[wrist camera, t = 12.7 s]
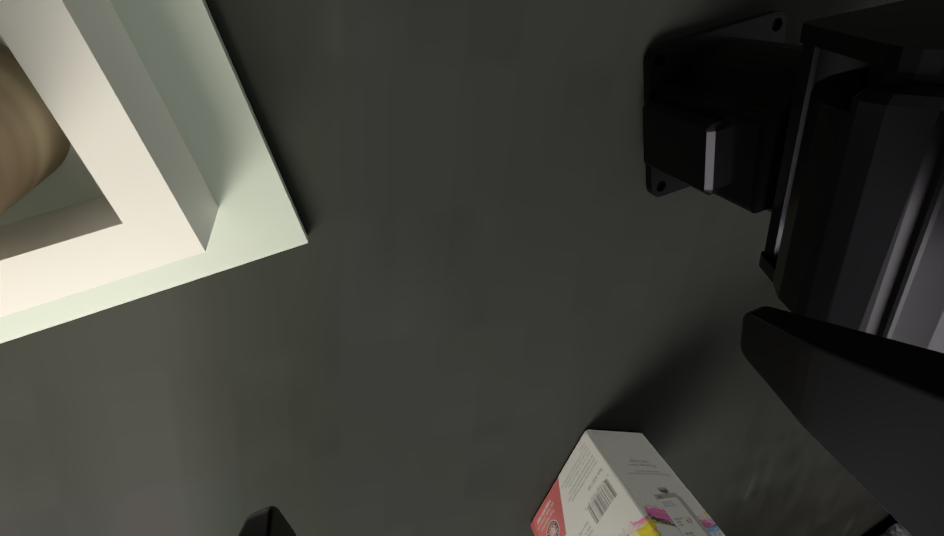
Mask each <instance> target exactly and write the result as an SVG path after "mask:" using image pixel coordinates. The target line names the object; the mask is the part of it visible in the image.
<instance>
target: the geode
mask: <svg viewBox="0 0 944 536" xmlns="http://www.w3.org/2000/svg"><path fill="white" fill-rule="evenodd" d="M879 536H911V535H910V534H909V533H908V532H907V531H906V530H905V529H904V528H903V527H902V526H901V525H900V524H899V523H896V524H894V525H892V526H890V527H889V528H888V529H887V531H886V532H884V533H882V534H880V535H879Z"/></svg>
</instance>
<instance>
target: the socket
mask: <svg viewBox="0 0 944 536" xmlns="http://www.w3.org/2000/svg"><path fill="white" fill-rule="evenodd" d="M0 43H1V44H3V45H5V46H7V47H9V49H10V50H11V52H12V53H13V55H14V56H15V58H16V60H17V61H18V63H19V64H20V66H21V67H22V69H23V70H24V72H25V73H26V75H27V76H28V78H29V80H30V81H31V83H32V84H33V86H34V87H35V89H36V90H37V92H38V93H39V95H40V96H41V98H42V100H43V101H44V103H45V104H46V106H47V107H48V109H49V110H50V112H51V113H52V115H53V117H54V118H55V120H56V121H57V123H58V124H59V126H60V127H61V129H62V130H63V132H64V133H65V135H66V137H67V138H68V140H69V141H70V143H71V146H70V150H69V152H68V154H67V156H66V158H65V160H64V161H63V163H62V164H61V165H60V166H59V167H58V168H57V169H56V170H55V171H54V172H53V173H52V174H51V175H49V176H48V177H47V178H46V179H44V180H43V181H42V182H41V183H39V184H38V185H37V186H36V187H34V188H33V189H32V190H31V191H29V192H28V193H27V194H26V195H25V196H23V197H22V198H21V199H20V200H18V201H17V202H16V203H15V204H13V205H12V206H11V207H10V208H8V209H7V210H6V211H5V212H3V213H2V214H1V215H0V343H3V342H6V341H9V340H12V339H16V338H19V337H22V336H25V335H28V334H31V333H34V332H37V331H40V330H43V329H46V328H49V327H52V326H55V325H58V324H61V323H64V322H68V321H71V320H74V319H77V318H80V317H83V316H86V315H89V314H92V313H95V312H98V311H101V310H104V309H107V308H110V307H113V306H116V305H120V304H123V303H126V302H129V301H132V300H135V299H138V298H141V297H144V296H147V295H150V294H153V293H156V292H159V291H162V290H165V289H168V288H171V287H175V286H178V285H181V284H184V283H187V282H190V281H193V280H196V279H199V278H202V277H205V276H208V275H211V274H214V273H217V272H220V271H223V270H227V269H230V268H233V267H236V266H239V265H242V264H245V263H248V262H251V261H254V260H257V259H260V258H263V257H266V256H269V255H272V254H275V253H279V252H282V251H285V250H288V249H291V248H294V247H297V246H300V245H303V244H306V243H308V236H307V233H306V231H305V229H304V226H303V224H302V222H301V220H300V217H299V215H298V213H297V210H296V208H295V206H294V204H293V201H292V199H291V197H290V194H289V192H288V190H287V187H286V185H285V183H284V181H283V178H282V176H281V174H280V171H279V169H278V167H277V165H276V162H275V160H274V158H273V155H272V153H271V151H270V148H269V146H268V144H267V142H266V139H265V137H264V135H263V132H262V130H261V128H260V125H259V123H258V121H257V119H256V116H255V114H254V112H253V109H252V107H251V105H250V103H249V100H248V98H247V96H246V93H245V91H244V89H243V86H242V84H241V82H240V80H239V77H238V75H237V73H236V70H235V68H234V66H233V64H232V61H231V59H230V57H229V54H228V52H227V50H226V47H225V45H224V43H223V41H222V38H221V36H220V34H219V31H218V29H217V27H216V24H215V22H214V20H213V18H212V15H211V13H210V11H209V8H208V6H207V4H206V2H205V0H0Z"/></svg>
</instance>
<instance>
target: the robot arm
mask: <svg viewBox="0 0 944 536" xmlns="http://www.w3.org/2000/svg"><path fill="white" fill-rule="evenodd" d="M774 21H775V24H774V26H773V28H772V24H773V22H774ZM786 29H787V15H786V13H784V12H783V11H769V12H766V13H763V14H759V15H756V16H753V17H749V18H746V19H743V20H739V21H736V22H733V23H729V24H726V25H722V26H719V27H716V28H712V29H709V30H706V31H702V32H699V33H696V34H692V35H689V36H686V37H682V38H679V39H676V40H672V41H669V42H666V43H662V44H659V45H655V46H653V47H651V48H650V49H649V50H648V51H647V52H646V54H645V56H644V62H643V65H644V107H643V138H644V162H645V163H646V187H647V191H648V192H649V193H651V194H652V195H654V196H657V197H659V196H663V195H666V194H669V193H672V192H675V191H678V190H681V189H683V188H686V187H689V186H691V187H693V188H695V189H697V190H699V191H701V192H703V193H705V194H707V195H711V194H716V195H718V196H720V197H722V198H724V199H726V200H728V201H730V202H732V203H734V204H736V205H738V206H740V207H742V208H744V209H746V210H748V211H750V212H752V213H758V212H761V211H764V210H767V211H769V212H772V214H771V219H770V225H769V230H768V235H767V241H766V246H765V251H763V252H762V253H761V257H760V262H759V266H760V268H761V269H762V270H763V271H764V272H765V274H766V275H767V276H768V277H769V279H770V280H771V281H772V282H773V284H774V287H775V290H776V293H777V296H778V298H779V299H780V300H781V301H782V302H783V303H784V304H785V305H786V307H787V308H788V309H789V310H790V311H791V312H792V313H791V312H787V311H783V310H780V309H776V308H772V307H766V306H765V307H760V308H758V309H755V310H753V311H750V312H748V313H746V314H745V316H744V317H743V324H742V334H741V350H742V352H743V354H744V356H745V358H746V359H747V360H748V361H749V363H750V364H751V365H752V366H753V367H754V369H755V370H756V371H757V372H758V373H759V375H760V376H761V377H762V378H763V380H764V381H765V382H766V383H767V384H768V386H769V387H770V388H771V389H772V391H773V392H774V393H775V394H776V395H777V397H778V398H779V399H780V400H781V402H782V403H783V404H784V405H785V406H786V408H787V409H788V410H789V411H790V412H791V413H792V415H793V416H794V417H795V418H796V419H797V420H798V421H799V423H800V424H801V425H802V426H803V427H804V428H805V429H806V430H807V431H808V432H809V433H810V434H811V435H812V436H813V437H814V438H815V439H816V440H817V441H818V442H819V443H820V444H821V445H822V446H823V447H824V448H825V449H826V450H827V451H828V452H829V453H830V454H831V455H832V456H833V457H834V458H835V459H836V460H837V461H838V462H839V463H840V464H841V465H842V466H843V467H844V468H845V469H846V470H847V471H848V472H849V473H850V474H851V475H852V476H853V477H854V478H855V479H856V480H857V481H858V482H859V483H860V484H861V485H862V486H863V487H864V488H865V489H866V490H867V491H868V492H869V493H870V494H871V495H872V496H873V497H874V498H875V499H876V500H877V501H878V502H879V503H880V504H881V505H882V506H883V507H884V508H885V509H886V510H887V511H888V512H889V513H890V514H891V515H892V516H893V517H894V518H895V519H896V520H897V522H898V523H899V524H900V525H901V526H902V527H903V528H904V529H905V530H906V531H907V532H908V533H909V534H910V535H911V536H944V0H904V1H899V2H894V3H890V4H885V5H880V6H876V7H871V8H867V9H862V10H857V11H853V12H848V13H844V14H839V15H834V16H830V17H825V18H820V19H816V20H811V21H807V22H804V23H803V27H802V33H801V38H800V42H802V43H803V45H796V44H788V43H785V38H786ZM657 55H660V60H659V62H658V64H656V65H655V58H656V57H657ZM659 182H661V184H660V186H659V187H658V188H656V187H657V184H658V183H659ZM238 536H296V534H295V532H294V530H293V529H292V528H291V526H290V525H289V523H288V522H287V521H286V519H285V518H284V516H283V515H282V513H281V512H280V511H279V509H278V508H277V507H275V506H269V507H267V508H265V509H262V510H260V511H257V512H255V513H253V514H251V515H250V516H249V517H248V518H247V519H246V521H245V523H244V525H243V527H242V529H241V531H240V533H239V535H238Z"/></svg>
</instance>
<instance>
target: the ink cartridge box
mask: <svg viewBox="0 0 944 536" xmlns="http://www.w3.org/2000/svg"><path fill="white" fill-rule="evenodd" d="M531 528H532V530H533V532H534V534H535V536H725V535H724V533H723V532H722V531H721V530H720V528H719V527H718V526H717V525H716V524H715V522H714V521H713V520H712V519H711V517H710V516H709V515H708V514H707V512H706V511H705V510H704V509H703V507H702V506H701V505H700V504H699V503H698V501H697V500H696V499H695V498H694V496H693V495H692V494H691V493H690V492H689V490H688V489H687V488H686V487H685V485H684V484H683V483H682V482H681V481H680V479H679V478H678V477H677V476H676V474H675V473H674V472H673V471H672V469H671V468H670V467H669V466H668V464H667V463H666V462H665V461H664V460H663V458H662V457H661V456H660V455H659V453H658V452H657V451H656V450H655V449H654V447H653V446H652V445H651V443H650V442H649V441H648V440H647V439H646V437H645V436H644V435H643V434H642V433H633V432H618V431H604V430H591V429H588V430H586V431H585V432H584V433H583V435H582V437H581V439H580V440H579V442H578V444H577V445H576V447H575V449H574V450H573V452H572V454H571V455H570V457H569V459H568V461H567V462H566V464H565V466H564V467H563V469H562V471H561V472H560V474H559V476H558V478H557V479H556V481H555V483H554V484H553V486H552V488H551V490H550V491H549V493H548V495H547V496H546V498H545V500H544V501H543V503H542V505H541V506H540V508H539V510H538V512H537V513H536V515H535V517H534V519H533V521H532V523H531Z"/></svg>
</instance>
